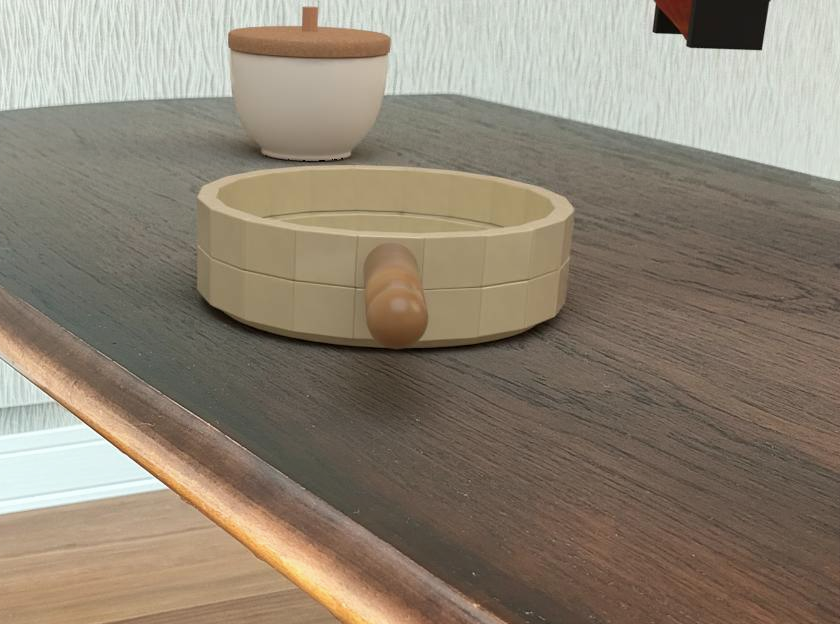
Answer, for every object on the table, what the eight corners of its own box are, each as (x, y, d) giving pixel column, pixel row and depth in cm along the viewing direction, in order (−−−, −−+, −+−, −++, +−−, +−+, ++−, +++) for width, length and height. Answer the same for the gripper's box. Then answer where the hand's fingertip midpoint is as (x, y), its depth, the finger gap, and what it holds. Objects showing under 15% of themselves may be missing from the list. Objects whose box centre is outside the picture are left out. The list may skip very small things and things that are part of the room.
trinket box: (258, 137, 104) (260, -2, 101) (402, 148, 101) (410, 6, 98) (203, 159, 95) (203, 7, 91) (360, 172, 92) (367, 16, 88)
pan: (537, 265, 70) (546, 170, 68) (588, 360, 55) (601, 243, 54) (213, 255, 70) (214, 160, 68) (181, 346, 56) (180, 229, 54)
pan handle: (414, 291, 54) (418, 238, 53) (427, 357, 46) (432, 296, 46) (361, 289, 54) (364, 236, 53) (365, 355, 46) (368, 294, 46)
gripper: (638, -602, 57) (575, 19, 67) (766, -817, 40) (657, 61, 49) (828, -596, 57) (738, 25, 66) (1039, -809, 40) (877, 69, 49)
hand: (704, 39), depth 58 cm, fingers closed on onion, 6 cm apart
